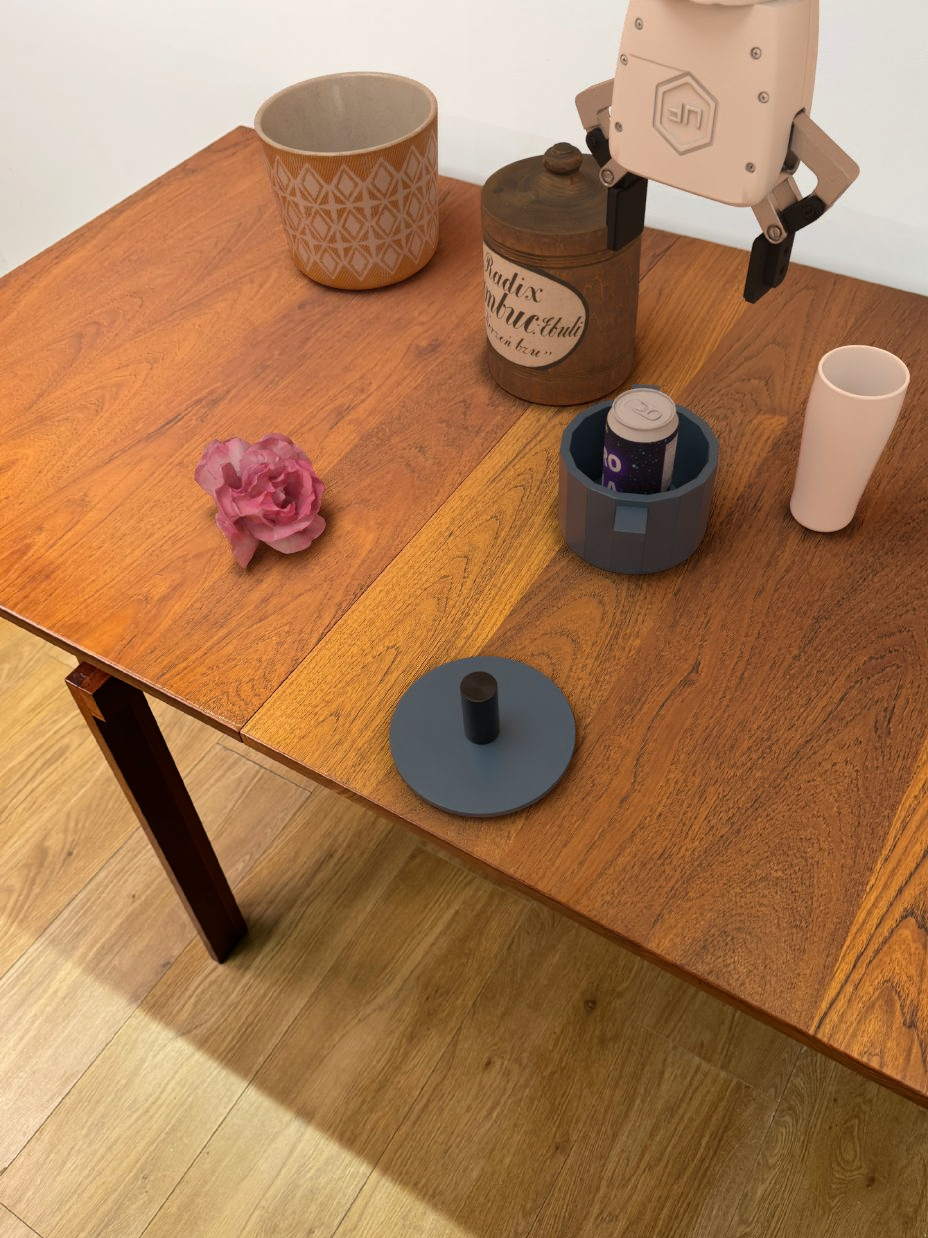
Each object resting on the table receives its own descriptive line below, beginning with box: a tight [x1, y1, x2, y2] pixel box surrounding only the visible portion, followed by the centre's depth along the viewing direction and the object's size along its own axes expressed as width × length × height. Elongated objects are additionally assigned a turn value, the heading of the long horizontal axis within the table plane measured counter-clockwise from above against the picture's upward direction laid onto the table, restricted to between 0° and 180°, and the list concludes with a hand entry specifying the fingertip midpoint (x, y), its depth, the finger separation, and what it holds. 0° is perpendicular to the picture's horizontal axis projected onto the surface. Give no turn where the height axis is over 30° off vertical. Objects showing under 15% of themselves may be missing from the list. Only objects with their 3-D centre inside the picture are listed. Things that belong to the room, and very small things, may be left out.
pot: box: [557, 383, 720, 576], centre depth 84 cm, size 13×18×8 cm
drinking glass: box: [789, 344, 911, 533], centre depth 80 cm, size 7×7×15 cm
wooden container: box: [479, 141, 643, 406], centre depth 93 cm, size 15×15×22 cm
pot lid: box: [388, 655, 577, 818], centre depth 71 cm, size 14×14×7 cm
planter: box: [253, 71, 440, 291], centre depth 111 cm, size 19×19×16 cm
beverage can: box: [602, 388, 679, 495], centre depth 82 cm, size 6×6×12 cm
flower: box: [193, 432, 327, 569], centre depth 86 cm, size 11×10×10 cm
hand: (690, 265), depth 61 cm, fingers open, 9 cm apart
